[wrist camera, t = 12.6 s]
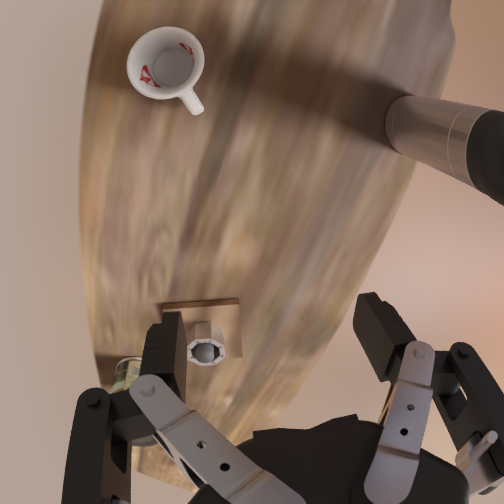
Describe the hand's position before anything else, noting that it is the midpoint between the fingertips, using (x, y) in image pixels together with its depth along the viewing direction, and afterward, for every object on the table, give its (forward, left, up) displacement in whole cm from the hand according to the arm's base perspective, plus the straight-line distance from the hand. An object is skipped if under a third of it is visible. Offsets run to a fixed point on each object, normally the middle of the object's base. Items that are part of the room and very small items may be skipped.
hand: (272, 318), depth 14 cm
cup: (+6, -12, -30) cm, 33 cm away
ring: (+6, +27, -28) cm, 40 cm away
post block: (+6, +27, -30) cm, 41 cm away
